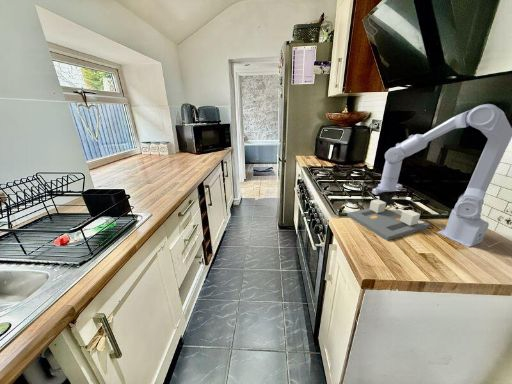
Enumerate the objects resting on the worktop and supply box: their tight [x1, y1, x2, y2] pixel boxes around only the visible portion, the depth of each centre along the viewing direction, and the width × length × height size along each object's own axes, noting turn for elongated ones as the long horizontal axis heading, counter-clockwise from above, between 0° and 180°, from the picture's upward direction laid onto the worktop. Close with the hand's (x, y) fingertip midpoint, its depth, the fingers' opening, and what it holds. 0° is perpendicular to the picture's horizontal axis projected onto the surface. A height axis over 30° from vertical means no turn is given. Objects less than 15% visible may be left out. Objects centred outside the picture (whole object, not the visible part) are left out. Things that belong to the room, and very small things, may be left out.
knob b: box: [368, 198, 386, 213], centre depth 90 cm, size 4×4×4 cm
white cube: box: [400, 209, 421, 226], centre depth 81 cm, size 4×4×4 cm
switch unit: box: [346, 204, 431, 241], centre depth 86 cm, size 19×22×2 cm
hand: (383, 206), depth 92 cm, fingers closed
